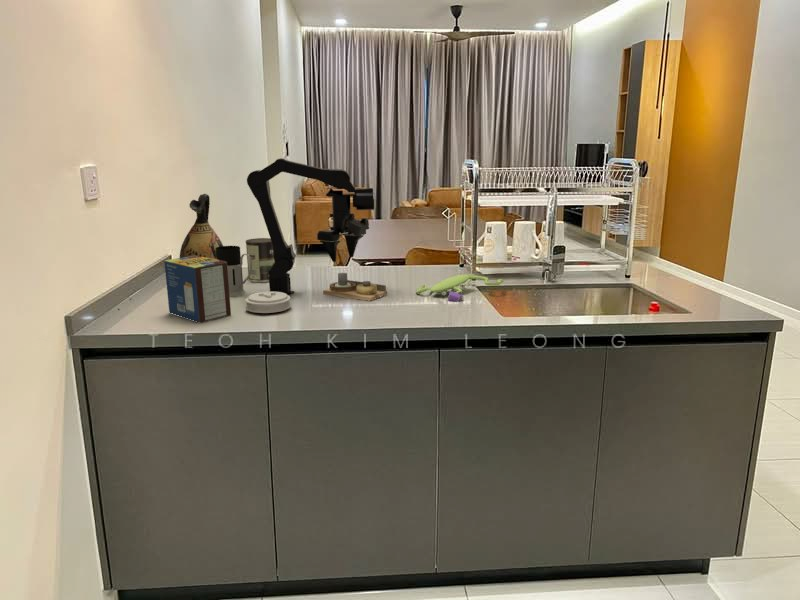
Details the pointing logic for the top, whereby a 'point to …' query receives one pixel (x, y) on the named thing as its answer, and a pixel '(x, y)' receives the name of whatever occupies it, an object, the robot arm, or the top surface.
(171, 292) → the protein box
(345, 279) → the planet gear
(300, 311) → the top surface
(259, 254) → the printed mug
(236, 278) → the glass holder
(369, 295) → the carrier board
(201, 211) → the ceramic jug
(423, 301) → the top surface
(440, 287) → the figurine
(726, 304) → the top surface
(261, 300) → the lid
